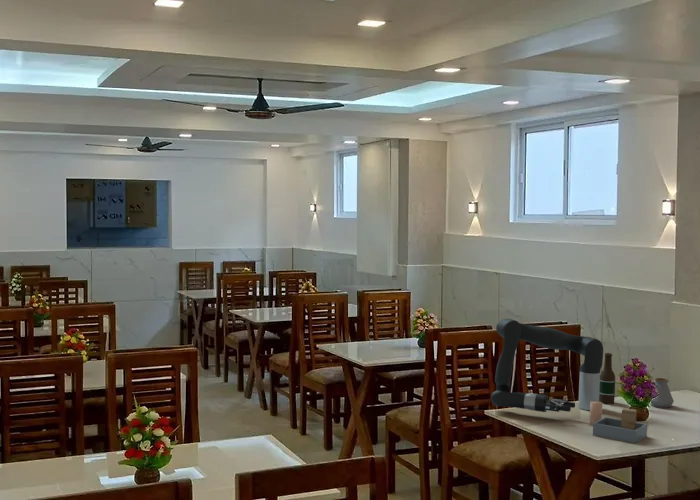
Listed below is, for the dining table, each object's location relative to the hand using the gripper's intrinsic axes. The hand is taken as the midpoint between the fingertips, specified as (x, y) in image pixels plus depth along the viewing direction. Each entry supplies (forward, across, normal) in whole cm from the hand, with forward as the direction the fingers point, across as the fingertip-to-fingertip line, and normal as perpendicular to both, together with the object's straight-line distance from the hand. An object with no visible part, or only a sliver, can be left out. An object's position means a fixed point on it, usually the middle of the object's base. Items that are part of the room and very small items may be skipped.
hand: (572, 407), depth 358 cm
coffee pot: (+27, +51, +7) cm, 58 cm away
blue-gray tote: (+22, -12, +6) cm, 26 cm away
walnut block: (+25, -13, +5) cm, 29 cm away
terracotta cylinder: (+10, 0, +6) cm, 12 cm away
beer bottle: (+6, +47, +7) cm, 48 cm away
